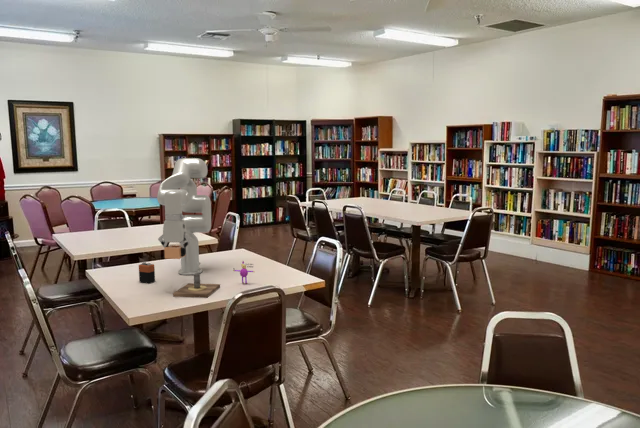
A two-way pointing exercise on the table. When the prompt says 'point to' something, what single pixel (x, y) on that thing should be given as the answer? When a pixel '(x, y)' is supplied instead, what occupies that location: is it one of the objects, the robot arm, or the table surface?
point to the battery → (146, 273)
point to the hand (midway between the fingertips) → (175, 255)
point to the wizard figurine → (244, 271)
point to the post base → (196, 289)
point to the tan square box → (173, 252)
